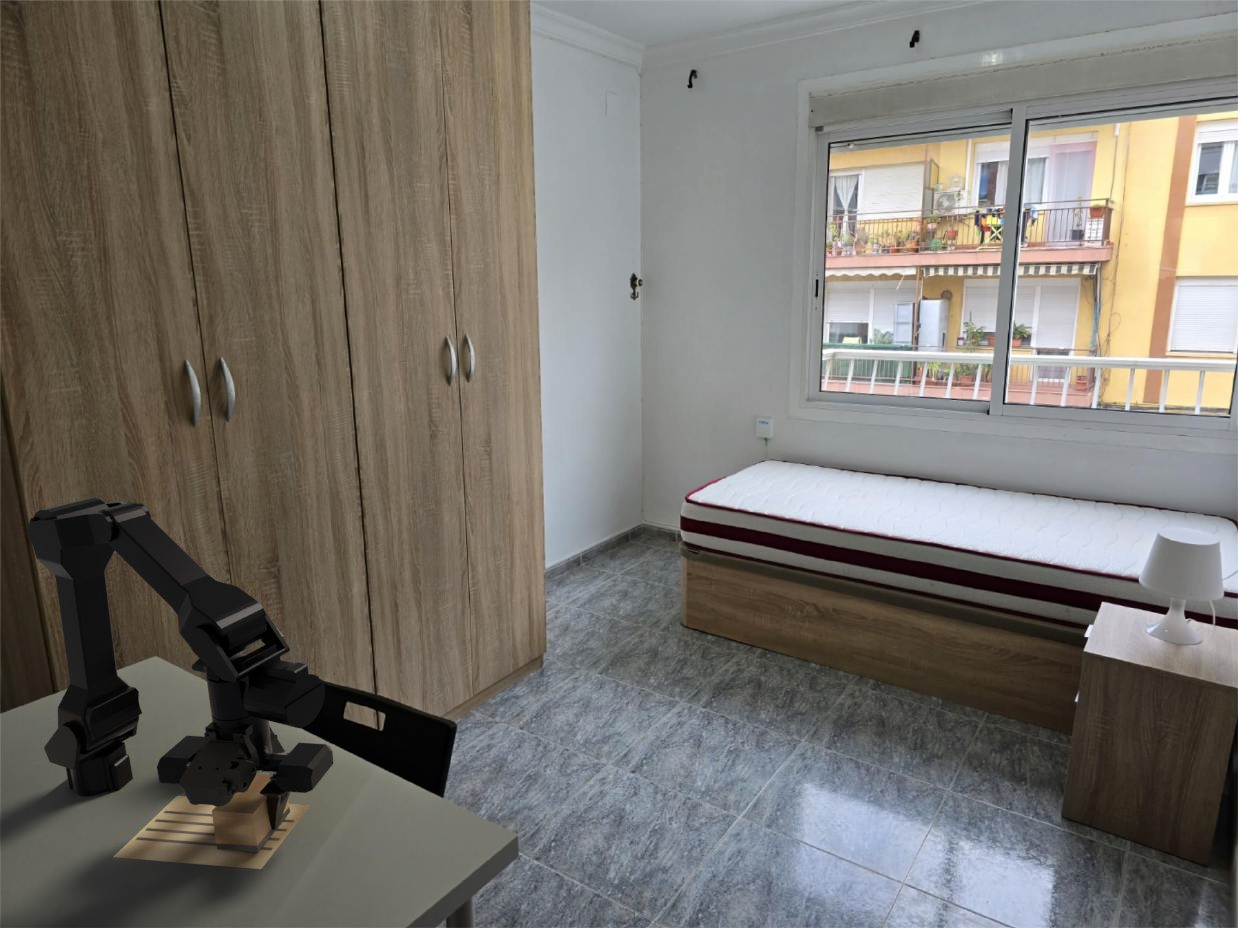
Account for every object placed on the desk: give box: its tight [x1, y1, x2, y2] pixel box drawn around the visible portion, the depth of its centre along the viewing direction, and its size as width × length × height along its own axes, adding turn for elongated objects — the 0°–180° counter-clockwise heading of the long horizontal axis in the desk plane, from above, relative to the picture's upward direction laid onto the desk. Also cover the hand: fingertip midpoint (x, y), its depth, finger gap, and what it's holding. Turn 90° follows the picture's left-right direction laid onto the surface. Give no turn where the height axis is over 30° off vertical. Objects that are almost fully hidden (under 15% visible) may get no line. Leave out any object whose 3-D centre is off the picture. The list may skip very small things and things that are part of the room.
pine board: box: [113, 795, 311, 870], centre depth 93 cm, size 18×11×1 cm, turn 83°
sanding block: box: [212, 773, 290, 852], centre depth 92 cm, size 5×7×5 cm
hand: (254, 825), depth 92 cm, fingers closed on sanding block, 5 cm apart
